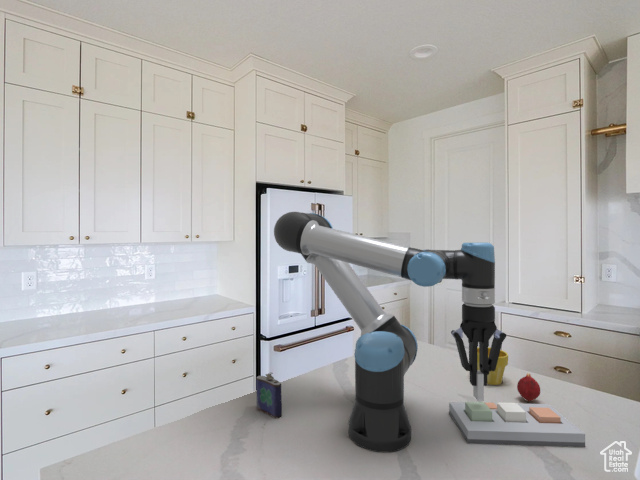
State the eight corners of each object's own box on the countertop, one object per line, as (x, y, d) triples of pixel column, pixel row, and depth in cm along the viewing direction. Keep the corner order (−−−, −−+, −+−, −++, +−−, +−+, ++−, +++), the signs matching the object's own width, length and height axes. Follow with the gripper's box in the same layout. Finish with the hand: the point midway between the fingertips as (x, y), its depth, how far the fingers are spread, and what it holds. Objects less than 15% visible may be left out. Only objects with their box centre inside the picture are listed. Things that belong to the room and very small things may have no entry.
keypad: (467, 443, 81) (467, 429, 81) (449, 412, 95) (449, 400, 95) (585, 446, 79) (585, 432, 79) (548, 415, 93) (548, 403, 93)
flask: (254, 408, 98) (254, 370, 98) (262, 404, 100) (262, 367, 100) (277, 419, 92) (277, 379, 92) (285, 415, 94) (285, 375, 94)
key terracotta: (539, 429, 84) (539, 416, 84) (529, 418, 89) (529, 407, 89) (560, 429, 84) (560, 417, 84) (548, 419, 89) (548, 407, 89)
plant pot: (509, 379, 117) (509, 349, 117) (506, 390, 108) (506, 359, 108) (475, 372, 123) (475, 344, 123) (470, 383, 114) (470, 353, 114)
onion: (544, 406, 98) (544, 378, 98) (521, 405, 99) (521, 377, 99) (535, 397, 104) (535, 370, 103) (514, 395, 105) (514, 369, 105)
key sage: (472, 423, 85) (472, 410, 85) (465, 413, 90) (465, 401, 90) (492, 423, 85) (492, 411, 85) (484, 413, 90) (484, 402, 90)
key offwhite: (505, 424, 85) (505, 411, 85) (496, 414, 90) (496, 402, 89) (526, 424, 84) (526, 412, 84) (516, 414, 89) (516, 402, 89)
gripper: (456, 306, 84) (456, 404, 84) (512, 307, 83) (512, 405, 83) (447, 301, 91) (447, 390, 92) (498, 301, 91) (498, 391, 91)
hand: (478, 397), depth 87 cm, fingers closed
